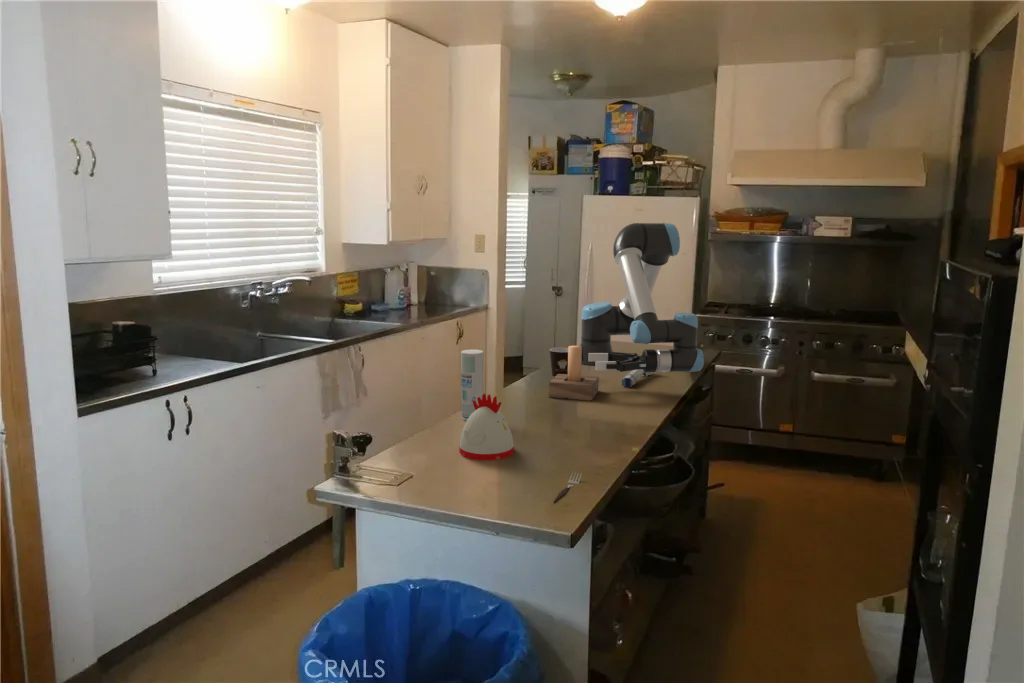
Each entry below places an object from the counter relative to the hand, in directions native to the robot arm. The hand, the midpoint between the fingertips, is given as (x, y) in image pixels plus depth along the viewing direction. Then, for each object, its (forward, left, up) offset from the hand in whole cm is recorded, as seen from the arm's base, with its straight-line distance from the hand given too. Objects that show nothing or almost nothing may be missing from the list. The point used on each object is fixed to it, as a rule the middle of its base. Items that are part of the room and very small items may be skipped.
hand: (591, 361), depth 247 cm
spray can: (+38, -28, -11) cm, 49 cm away
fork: (+86, +10, -12) cm, 87 cm away
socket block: (+2, -5, -11) cm, 12 cm away
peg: (+2, -5, -11) cm, 12 cm away
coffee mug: (-22, -13, -11) cm, 28 cm away
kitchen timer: (+65, -15, -11) cm, 68 cm away
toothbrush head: (-25, +12, -11) cm, 30 cm away
